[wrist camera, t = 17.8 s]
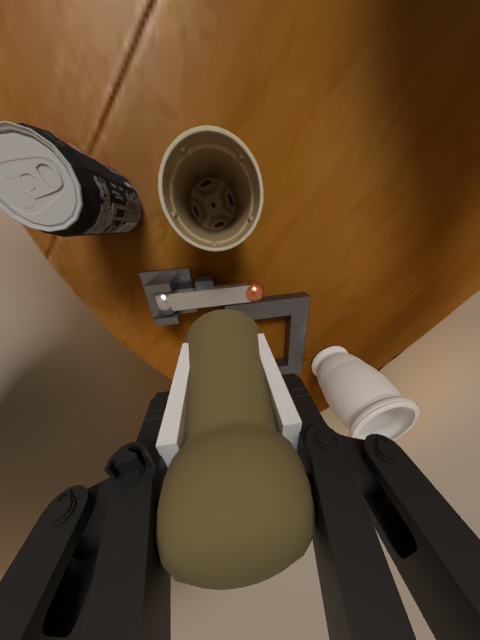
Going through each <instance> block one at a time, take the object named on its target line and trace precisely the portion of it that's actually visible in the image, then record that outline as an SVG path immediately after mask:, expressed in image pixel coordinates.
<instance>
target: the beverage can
mask: <svg viewBox="0 0 480 640" xmlns="http://www.w3.org/2000/svg"><path fill="white" fill-rule="evenodd" d="M0 208H1V209H2V210H3V211H4V212H5V213H6V214H7V215H8V216H9V217H11V218H13V219H15V220H17V221H18V222H20V223H22V224H24V225H26V226H28V227H30V228H34V229H38V230H40V231H42V232H44V233H49V234H54V235H58V236H63V237H68V236H83V235H98V234H114V233H123V232H128V231H130V230H131V229H133V228H134V227H135V226H137V224H138V222H139V219H140V217H141V202H140V199H139V197H138V194H137V191H136V190H135V188H134V187H133V186H132V184H131V183H130V182H129V180H128V179H126V178H125V177H124V176H122V175H121V174H120V173H118V172H117V171H115V170H113V169H112V168H110V167H108V166H107V165H105V164H103V163H102V162H100V161H98V160H96V159H95V158H93V157H91V156H90V155H88V154H86V153H84V152H83V151H81V150H79V149H78V148H76V147H74V146H73V145H71V144H69V143H67V142H66V141H64V140H62V139H61V138H59V137H57V136H55V135H54V134H52V133H50V132H49V131H46V130H43V129H40V128H37V127H34V126H30V125H27V124H24V123H19V124H14V123H11V122H8V121H3V122H0Z"/></svg>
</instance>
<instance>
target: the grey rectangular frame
mask: <svg viewBox="0 0 480 640" xmlns="http://www.w3.org/2000/svg"><path fill="white" fill-rule="evenodd" d="M309 304H310V296H309V295H308V294H306V293H305V292H301V293H292V294H283V295H275V296H266V297H262V298H261V299H260V300H259V301H257V302H246V303H237V304H229V305H224V307H225V309H231V310H236V311H240V312H243V313H244V314H246V315H248V316H250V317H251V318H252V319H253V320H257V319H265V318H272V317H280V316H286V333H285V351H284V358H282V359H276V360H275V362H276V364H277V366H278V369H279V371H280V373H281V375H284V374H291V373H295V374H296V375H301V373H302V364H303V356H304V347H305V339H306V330H307V321H308V313H309Z"/></svg>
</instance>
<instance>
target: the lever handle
mask: <svg viewBox="0 0 480 640" xmlns="http://www.w3.org/2000/svg"><path fill="white" fill-rule="evenodd" d="M153 295H154V298H155V302H156V305H157V308H158V312H159V315H161V316H167V315H171V314H174V313H176V312H177V310H186V309H194V308H203V307H211V306H220V305H229V304H237V303H246V302H257V301H259V300H260V299H261V298H262V297H263V295H264V288H263V286H262V284H261V283H259V282H257V281H250V282H246V283H237V284H227V285H218V286H209V287H199V288H190V289H180V290H172V291H169V292H159V293H153Z"/></svg>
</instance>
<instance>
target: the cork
mask: <svg viewBox="0 0 480 640" xmlns="http://www.w3.org/2000/svg"><path fill="white" fill-rule="evenodd" d="M258 334H261V331H260V328H259V326H258V325H257V323H256V322H255V321H254V320H253V319H252V318H251V317H250V316H248V315H246V314H244V313H243V312H240V311H236V310H231V309H221V310H214V311H211V312H209V313H206V314H203V315H202V316H201V317H200V318H198V319H197V320H196V321H195V322H194V323H193V324H192V326H191V327H190V329H189V330H188V333H187V338H186V343H188V347H189V364H190V369H189V379H188V389H187V402H186V419H185V437H184V445H183V446H182V448H181V449H180V450H179V451H178V452H177V454H176V455H175V456H174V457H173V458H172V461H171V463H170V465H169V468H168V470H167V473H166V475H165V477H164V481H163V485H162V490H161V495H160V499H159V504H158V509H157V513H156V542H157V548H158V552H159V556H160V561H161V565H162V566H163V567H164V568H165V569H166V571H167V572H168V573H169V574H170V575H171V576H172V577H173V578H174V579H175V580H176V581H178V582H182V583H186V584H189V585H193V586H197V587H201V588H206V589H220V590H225V589H235V588H241V587H245V586H250V585H253V584H257V583H260V582H262V581H264V580H267V579H269V578H271V577H273V576H274V575H277V574H278V573H280V572H282V571H283V570H285V569H286V568H287V567H289V566H290V565H291V564H293V563H294V562H295V561H297V560H298V559H300V558H301V557H302V556H304V554H305V552H306V550H307V548H308V546H309V545H310V543H311V541H312V539H313V537H314V529H315V513H316V511H315V505H314V500H313V493H312V488H311V485H310V482H309V480H308V477H307V474H306V472H305V469H304V466H303V464H302V461H301V459H300V457H299V455H298V454H297V452H296V450H295V449H294V447H293V445H292V444H291V442H290V441H289V440H288V439H286V438H285V437H284V436H283V435H282V434H280V433H279V432H278V428H277V424H276V419H275V415H274V410H273V406H272V401H271V397H270V393H269V389H268V385H267V381H266V378H265V374H264V370H263V366H262V362H261V359H260V353H259V342H258Z"/></svg>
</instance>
